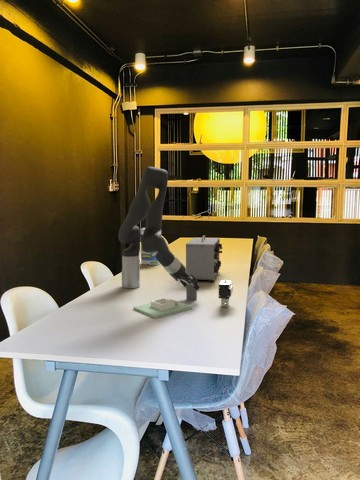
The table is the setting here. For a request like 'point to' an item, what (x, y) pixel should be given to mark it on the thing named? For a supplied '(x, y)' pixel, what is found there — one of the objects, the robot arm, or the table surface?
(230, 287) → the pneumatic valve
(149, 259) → the string lights box
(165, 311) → the board
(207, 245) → the vintage electronic device
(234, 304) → the table surface
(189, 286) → the grey rectangular block
